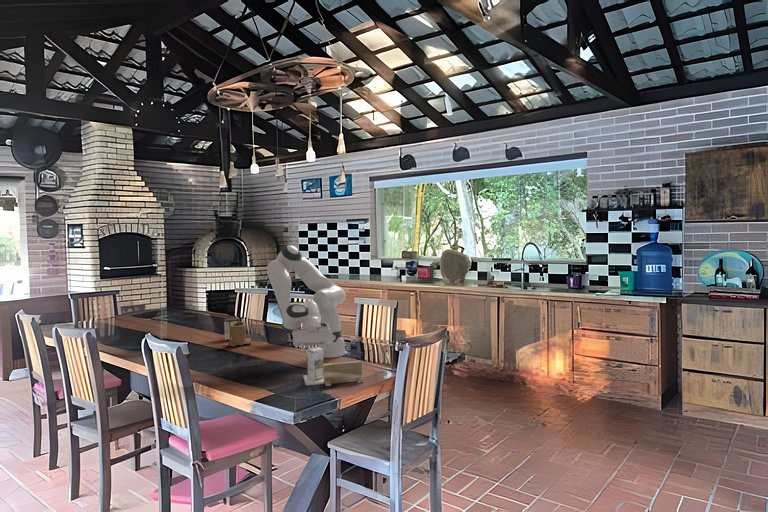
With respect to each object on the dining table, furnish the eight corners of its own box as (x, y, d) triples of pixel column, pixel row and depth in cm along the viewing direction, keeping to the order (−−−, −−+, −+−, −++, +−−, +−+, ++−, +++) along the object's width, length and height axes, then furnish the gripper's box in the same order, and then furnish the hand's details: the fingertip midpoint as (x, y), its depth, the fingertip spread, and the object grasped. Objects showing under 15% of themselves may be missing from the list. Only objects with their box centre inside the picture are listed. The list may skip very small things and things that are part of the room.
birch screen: (323, 383, 244) (323, 364, 244) (361, 379, 249) (361, 361, 248) (325, 386, 240) (324, 366, 239) (363, 382, 244) (363, 363, 244)
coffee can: (233, 337, 358) (232, 317, 358) (243, 338, 353) (242, 318, 352) (221, 340, 350) (220, 319, 349) (231, 341, 344) (231, 320, 343)
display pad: (303, 377, 255) (303, 375, 255) (323, 375, 258) (323, 373, 257) (305, 385, 242) (305, 383, 242) (327, 383, 244) (327, 381, 244)
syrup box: (316, 376, 253) (315, 346, 252) (324, 378, 249) (323, 348, 248) (306, 378, 249) (305, 348, 248) (315, 380, 245) (314, 350, 244)
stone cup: (231, 348, 323) (230, 324, 322) (226, 345, 333) (225, 322, 333) (255, 345, 331) (254, 322, 330) (249, 342, 341) (248, 319, 340)
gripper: (291, 326, 266) (292, 349, 257) (331, 323, 270) (334, 346, 261) (291, 333, 271) (292, 356, 262) (331, 330, 274) (333, 353, 265)
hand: (313, 351), depth 261 cm, fingers open, 8 cm apart
